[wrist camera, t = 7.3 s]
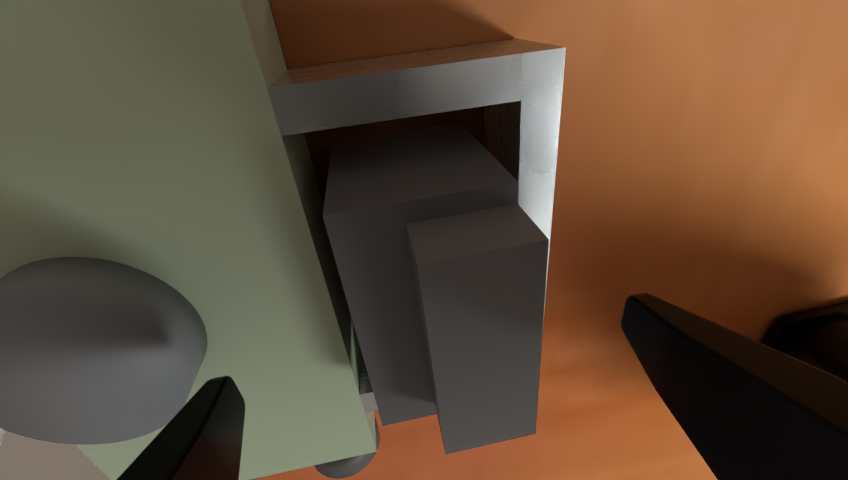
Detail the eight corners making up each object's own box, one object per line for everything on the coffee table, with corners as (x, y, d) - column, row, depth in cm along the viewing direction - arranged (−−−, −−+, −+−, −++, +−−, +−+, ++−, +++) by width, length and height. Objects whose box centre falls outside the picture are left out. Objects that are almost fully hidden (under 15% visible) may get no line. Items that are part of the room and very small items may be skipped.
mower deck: (236, -117, 8) (144, -220, 5) (377, 405, 18) (384, 509, 14) (-221, -74, 8) (-775, -154, 4) (181, 446, 18) (134, 568, 14)
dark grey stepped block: (459, 121, 12) (551, 214, 7) (470, 292, 16) (534, 443, 10) (332, 141, 12) (316, 257, 6) (373, 311, 15) (386, 478, 10)
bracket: (516, 38, 11) (565, 47, 9) (510, 320, 17) (539, 375, 14) (287, 68, 10) (267, 88, 8) (362, 349, 16) (364, 412, 14)
